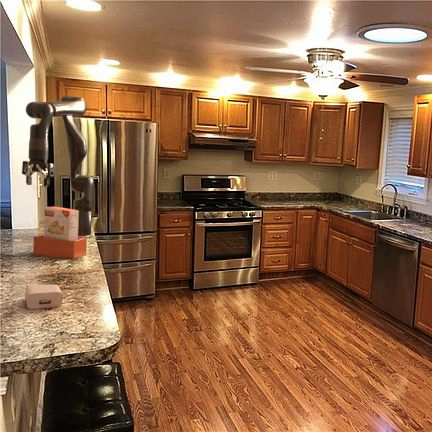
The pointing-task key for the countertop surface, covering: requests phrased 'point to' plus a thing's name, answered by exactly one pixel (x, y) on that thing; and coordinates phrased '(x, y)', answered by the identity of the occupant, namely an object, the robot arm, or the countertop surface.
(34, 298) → the charger
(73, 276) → the countertop surface
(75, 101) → the robot arm
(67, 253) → the holder
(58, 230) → the cracker box
